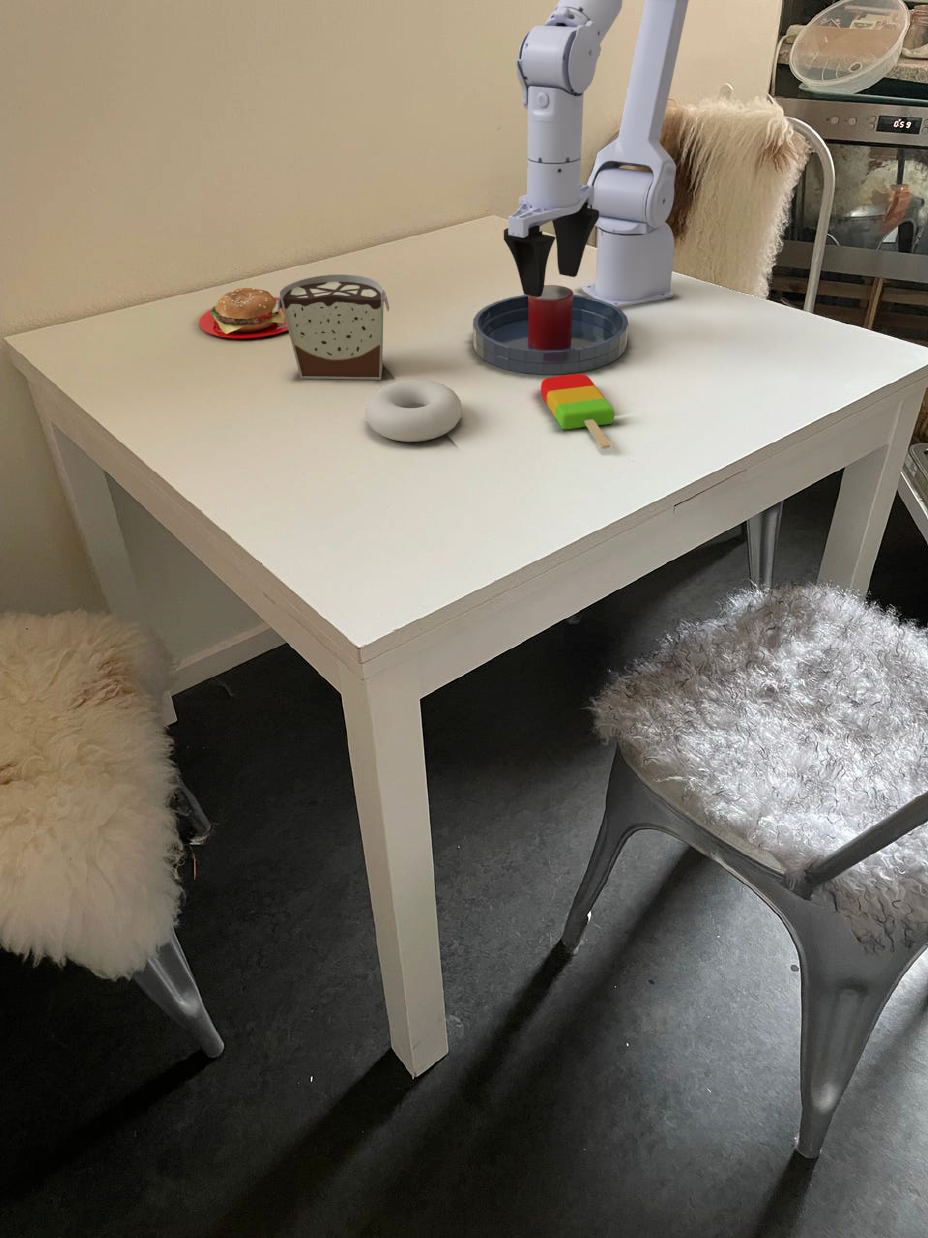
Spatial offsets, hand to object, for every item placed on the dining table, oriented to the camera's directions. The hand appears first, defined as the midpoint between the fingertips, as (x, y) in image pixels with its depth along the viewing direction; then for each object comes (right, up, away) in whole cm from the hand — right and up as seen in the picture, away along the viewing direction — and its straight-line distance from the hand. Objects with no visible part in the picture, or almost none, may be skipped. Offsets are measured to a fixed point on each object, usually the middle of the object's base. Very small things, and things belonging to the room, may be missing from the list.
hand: (550, 284), depth 111 cm
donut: (-15, -18, -11) cm, 26 cm away
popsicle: (+2, -18, -11) cm, 21 cm away
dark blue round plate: (0, -6, +5) cm, 7 cm away
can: (0, -5, +4) cm, 7 cm away
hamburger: (-37, 0, +14) cm, 40 cm away
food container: (-24, -9, +1) cm, 26 cm away
